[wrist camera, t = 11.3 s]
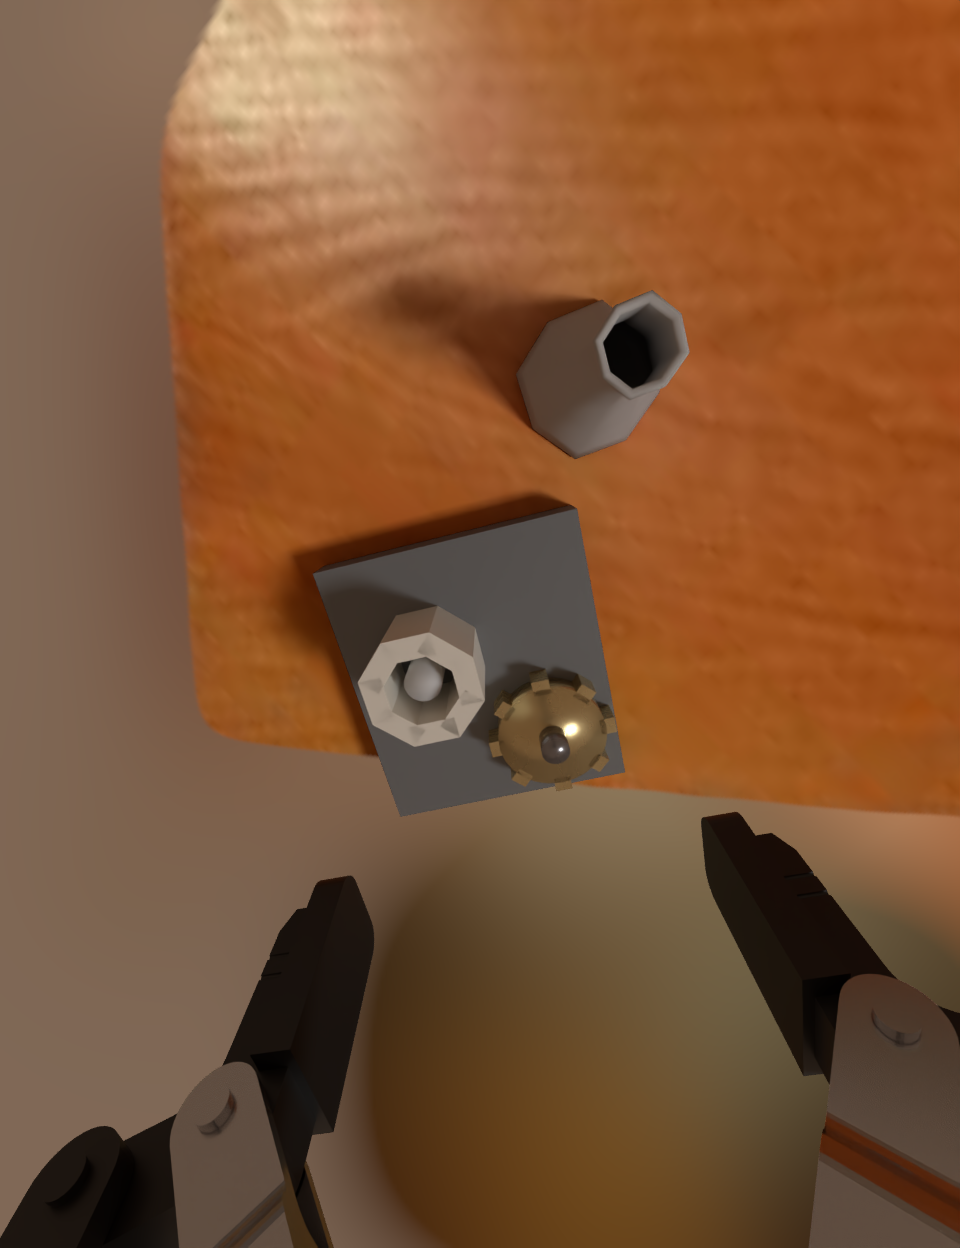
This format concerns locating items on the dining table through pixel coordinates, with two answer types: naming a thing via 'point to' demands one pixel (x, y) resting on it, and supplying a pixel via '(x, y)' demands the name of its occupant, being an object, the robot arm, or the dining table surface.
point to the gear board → (507, 633)
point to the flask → (601, 371)
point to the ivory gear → (457, 699)
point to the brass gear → (551, 730)
